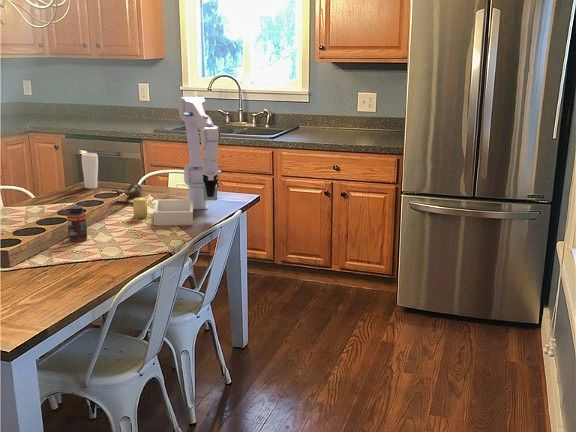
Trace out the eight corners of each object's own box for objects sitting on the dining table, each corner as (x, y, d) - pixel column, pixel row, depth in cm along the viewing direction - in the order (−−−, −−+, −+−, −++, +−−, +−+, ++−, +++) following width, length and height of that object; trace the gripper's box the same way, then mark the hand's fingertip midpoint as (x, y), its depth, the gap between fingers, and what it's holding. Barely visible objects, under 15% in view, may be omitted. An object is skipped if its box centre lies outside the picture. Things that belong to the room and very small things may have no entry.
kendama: (147, 195, 269) (138, 206, 250) (124, 195, 269) (113, 206, 249) (146, 181, 267) (137, 191, 248) (123, 181, 267) (112, 191, 248)
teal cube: (203, 196, 237) (203, 184, 236) (216, 196, 238) (216, 184, 237) (203, 200, 233) (203, 187, 231) (217, 200, 234) (217, 187, 232)
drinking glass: (80, 188, 272) (78, 155, 268) (87, 185, 279) (85, 152, 275) (94, 190, 271) (93, 156, 267) (101, 186, 278) (100, 153, 274)
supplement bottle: (89, 236, 211) (87, 204, 208) (84, 242, 205) (82, 209, 202) (71, 236, 211) (69, 204, 208) (66, 242, 205) (64, 208, 202)
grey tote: (156, 211, 243) (156, 199, 242) (192, 211, 245) (192, 199, 244) (153, 225, 226) (153, 212, 224) (192, 225, 228) (192, 212, 227)
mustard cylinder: (134, 215, 237) (133, 197, 235) (147, 215, 238) (147, 197, 236) (133, 219, 233) (132, 200, 231) (146, 219, 233) (146, 200, 232)
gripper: (222, 163, 225) (221, 199, 229) (220, 155, 239) (219, 190, 243) (202, 163, 224) (202, 199, 228) (201, 155, 238) (201, 190, 241)
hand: (210, 194), depth 235 cm, fingers closed on teal cube, 5 cm apart
